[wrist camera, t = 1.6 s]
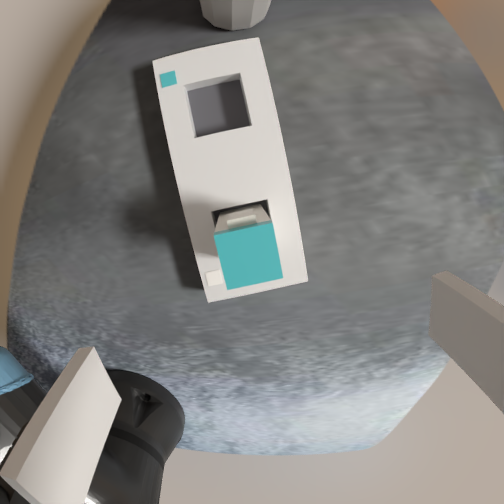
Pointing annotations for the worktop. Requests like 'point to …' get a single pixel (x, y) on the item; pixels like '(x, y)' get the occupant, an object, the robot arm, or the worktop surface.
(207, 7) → the water bottle
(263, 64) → the panel
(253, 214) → the plug
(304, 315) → the worktop surface
